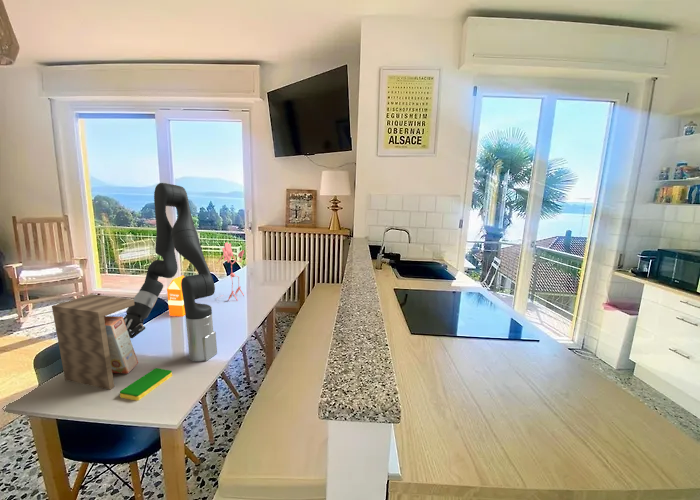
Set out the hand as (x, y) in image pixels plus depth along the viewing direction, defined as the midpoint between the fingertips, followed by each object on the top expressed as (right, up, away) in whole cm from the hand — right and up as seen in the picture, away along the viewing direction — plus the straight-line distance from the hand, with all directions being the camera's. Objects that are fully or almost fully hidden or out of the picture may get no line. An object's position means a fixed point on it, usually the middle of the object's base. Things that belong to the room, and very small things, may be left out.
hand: (117, 348), depth 111 cm
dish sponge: (+18, -10, -10) cm, 23 cm away
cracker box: (0, -7, -1) cm, 7 cm away
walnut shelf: (-1, -8, -4) cm, 9 cm away
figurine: (+12, +7, +76) cm, 77 cm away
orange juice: (-5, +2, +52) cm, 52 cm away
